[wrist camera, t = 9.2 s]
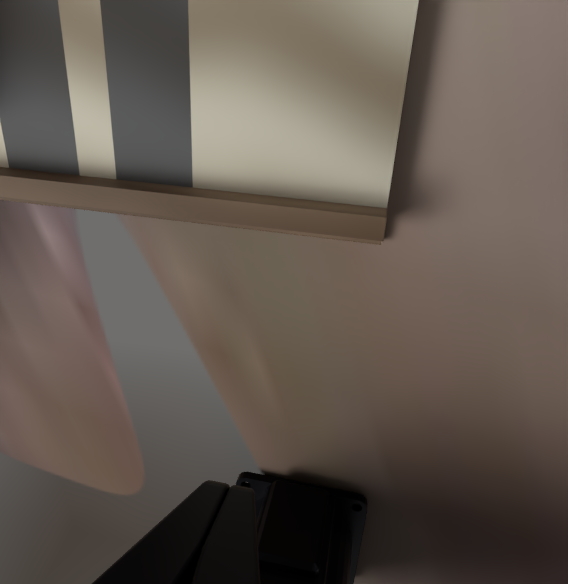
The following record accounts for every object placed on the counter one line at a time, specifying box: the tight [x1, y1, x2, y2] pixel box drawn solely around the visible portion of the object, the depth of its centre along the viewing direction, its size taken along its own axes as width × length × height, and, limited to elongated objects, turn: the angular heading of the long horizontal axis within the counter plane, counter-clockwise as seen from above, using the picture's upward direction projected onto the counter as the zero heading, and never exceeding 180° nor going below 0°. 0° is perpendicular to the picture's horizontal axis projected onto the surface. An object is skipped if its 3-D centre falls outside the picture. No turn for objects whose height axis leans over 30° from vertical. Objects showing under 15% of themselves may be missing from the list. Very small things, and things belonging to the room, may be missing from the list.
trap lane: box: [0, 0, 419, 245], centre depth 16 cm, size 12×22×2 cm, turn 87°
